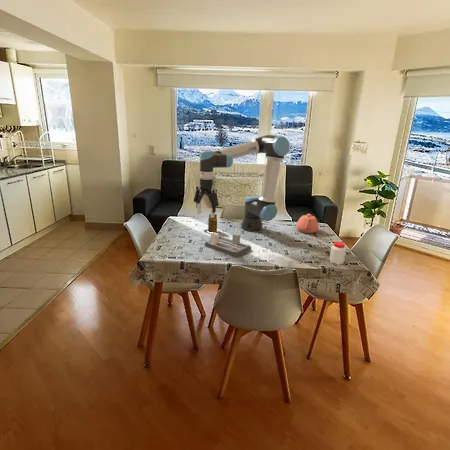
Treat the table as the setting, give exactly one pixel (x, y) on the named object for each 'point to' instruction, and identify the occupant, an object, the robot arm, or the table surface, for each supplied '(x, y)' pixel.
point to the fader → (214, 238)
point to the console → (230, 245)
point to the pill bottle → (337, 252)
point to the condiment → (212, 224)
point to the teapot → (307, 224)
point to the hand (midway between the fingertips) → (205, 215)
